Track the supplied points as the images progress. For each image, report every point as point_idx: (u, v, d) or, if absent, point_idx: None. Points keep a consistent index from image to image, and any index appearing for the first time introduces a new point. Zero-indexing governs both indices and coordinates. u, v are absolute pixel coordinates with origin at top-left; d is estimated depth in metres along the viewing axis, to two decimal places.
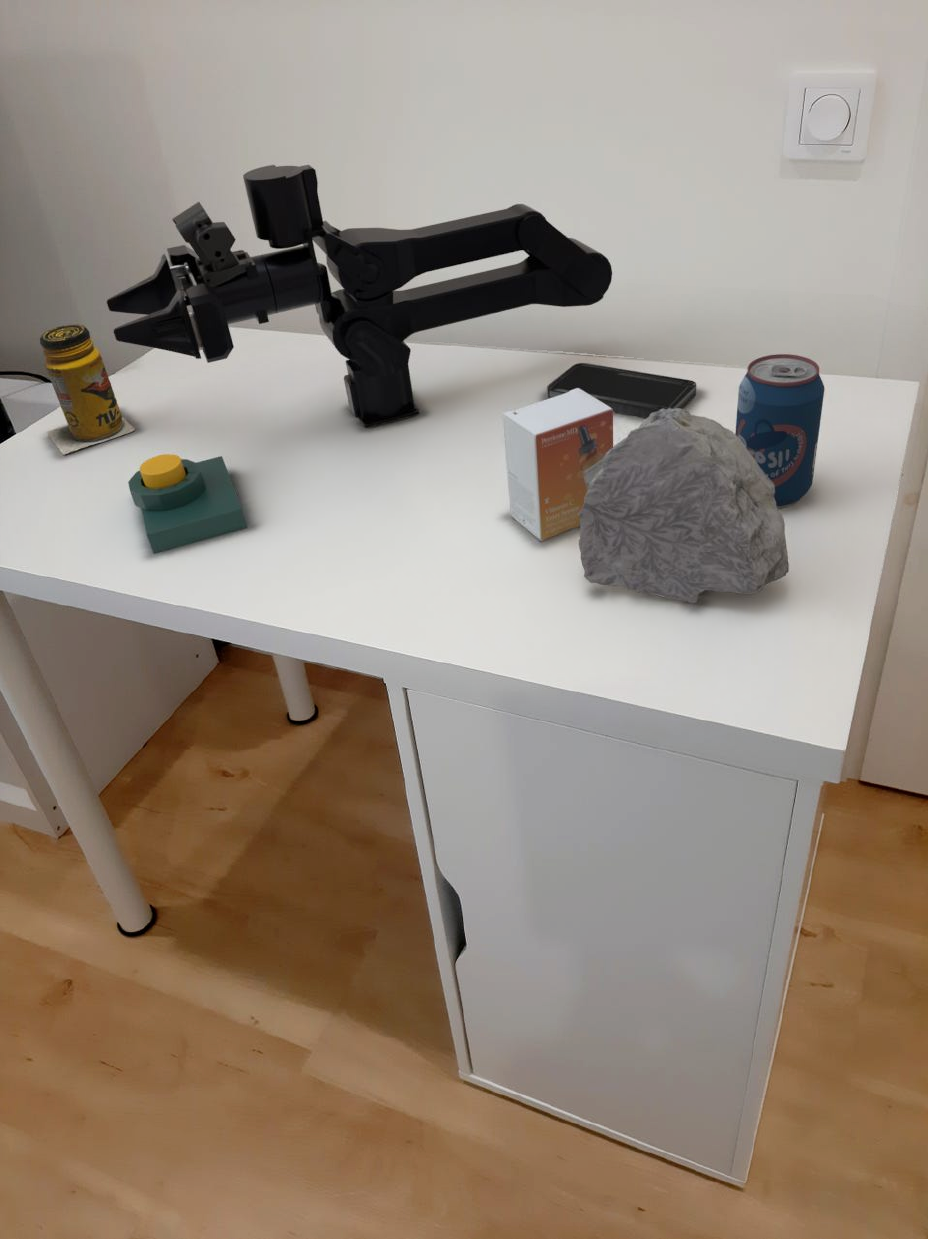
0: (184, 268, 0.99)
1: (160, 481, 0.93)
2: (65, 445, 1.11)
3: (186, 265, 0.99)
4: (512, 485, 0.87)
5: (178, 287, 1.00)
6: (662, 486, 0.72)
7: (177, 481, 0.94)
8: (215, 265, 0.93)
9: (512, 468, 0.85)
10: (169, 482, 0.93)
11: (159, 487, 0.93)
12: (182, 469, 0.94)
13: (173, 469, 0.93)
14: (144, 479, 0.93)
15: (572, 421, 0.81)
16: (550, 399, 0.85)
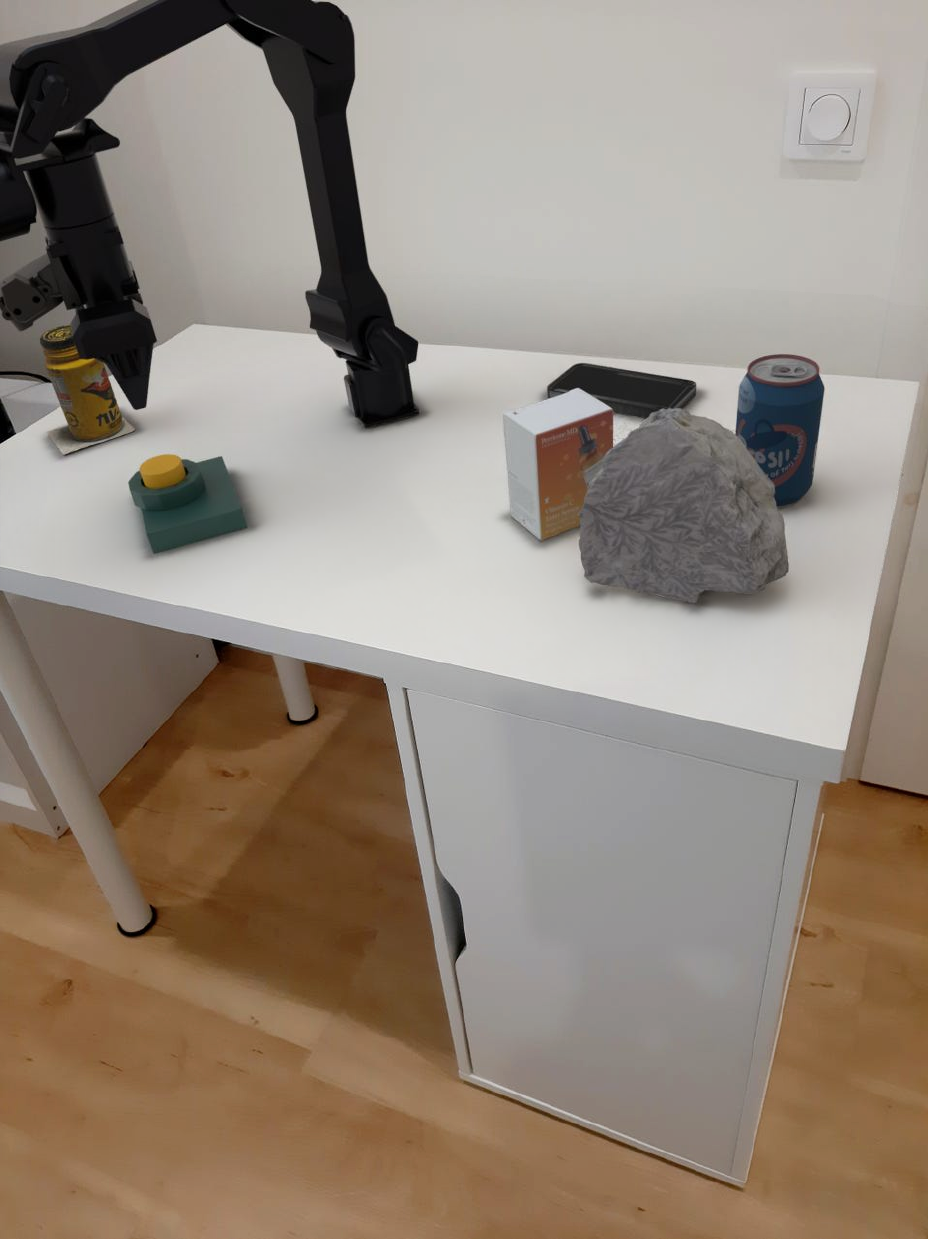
0: None
1: (160, 481, 0.93)
2: (65, 445, 1.11)
3: None
4: (512, 485, 0.87)
5: None
6: (662, 486, 0.72)
7: (177, 481, 0.94)
8: (54, 295, 0.80)
9: (512, 468, 0.85)
10: (169, 482, 0.93)
11: (159, 487, 0.93)
12: (182, 469, 0.94)
13: (173, 469, 0.93)
14: (144, 479, 0.93)
15: (572, 421, 0.81)
16: (550, 398, 0.85)
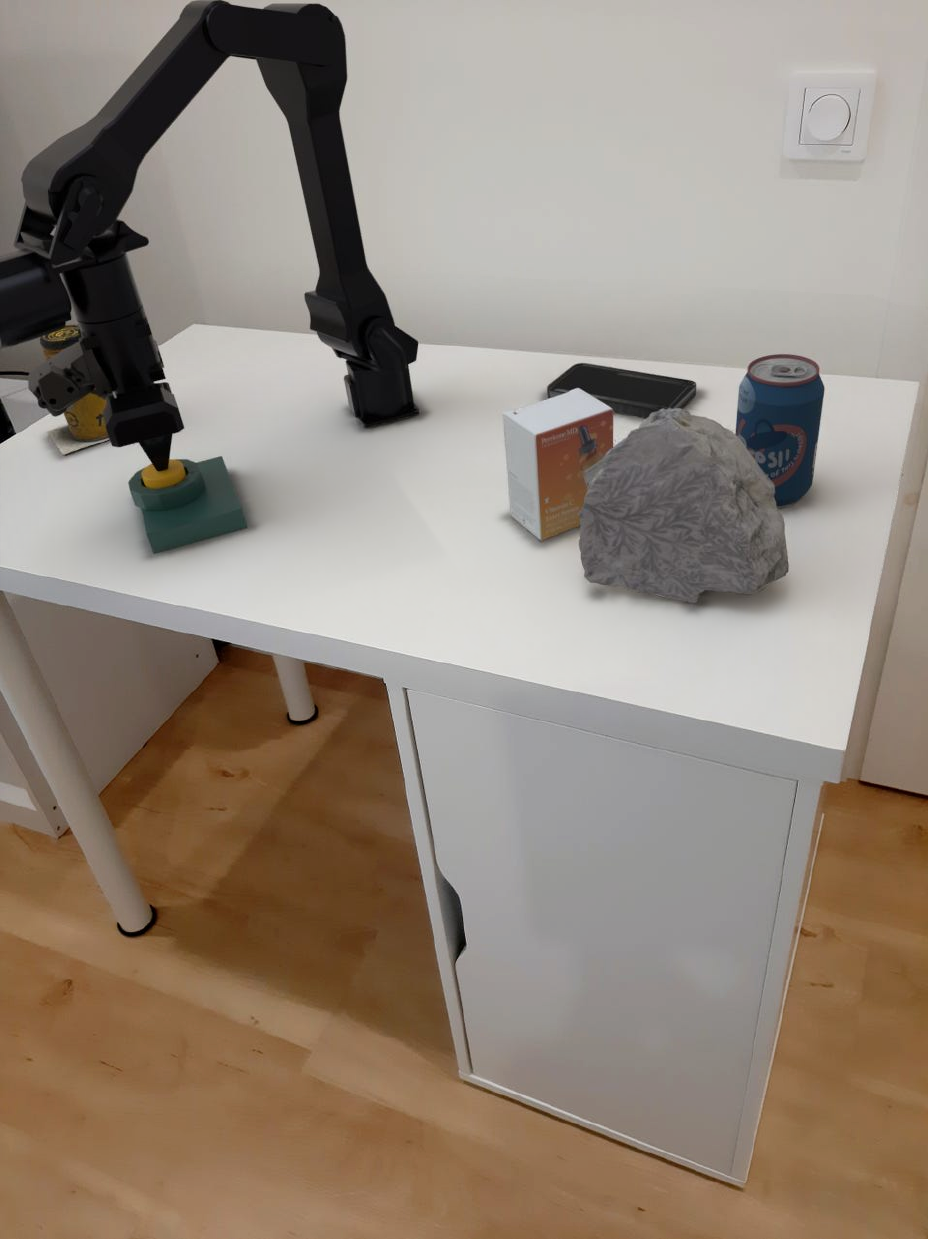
0: None
1: (162, 487, 0.93)
2: (65, 445, 1.11)
3: None
4: (512, 485, 0.87)
5: None
6: (662, 486, 0.72)
7: None
8: (87, 383, 0.85)
9: (512, 468, 0.85)
10: None
11: None
12: (184, 474, 0.94)
13: (175, 474, 0.93)
14: (146, 484, 0.94)
15: (572, 421, 0.81)
16: (550, 398, 0.85)
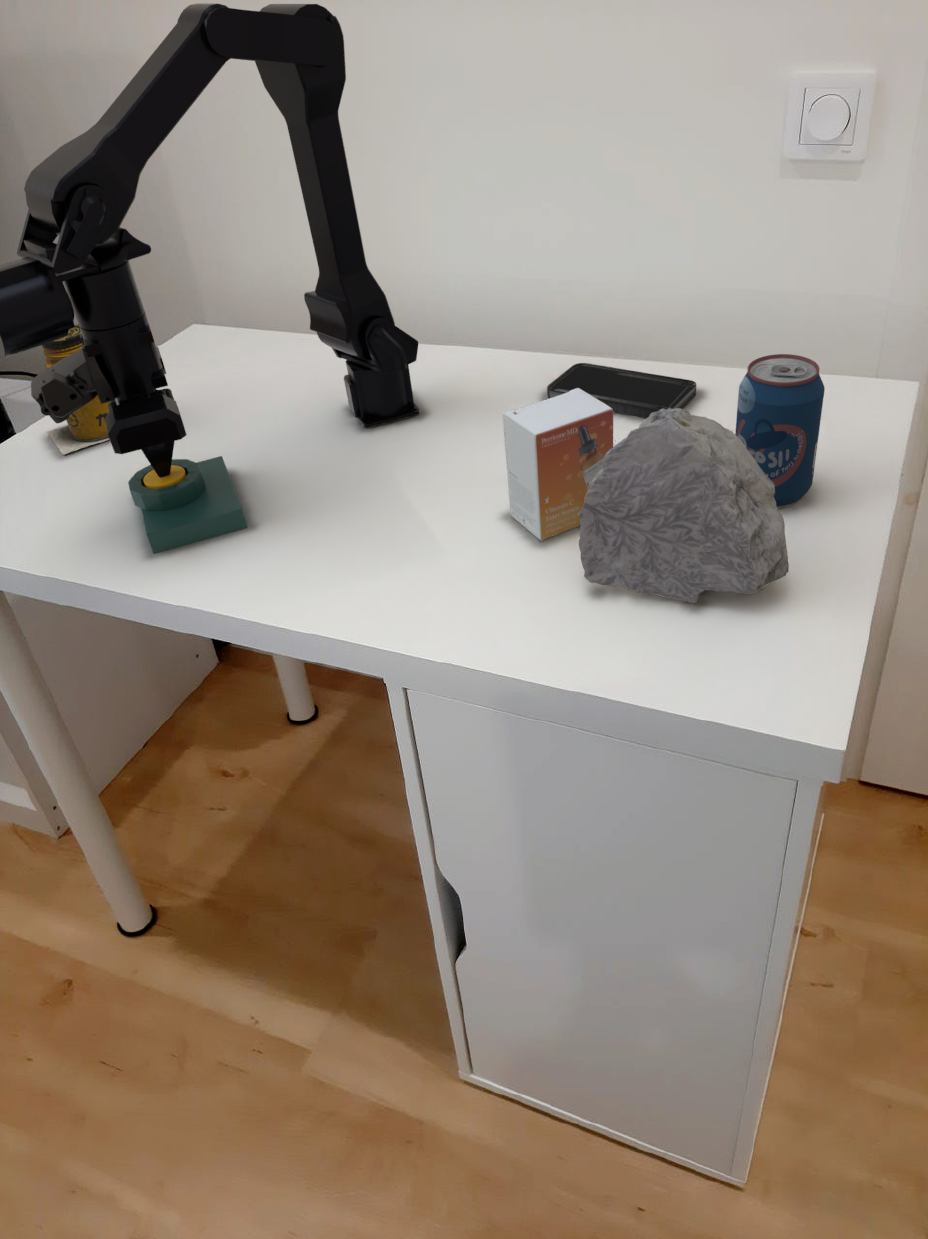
0: None
1: None
2: (65, 445, 1.11)
3: None
4: (512, 485, 0.87)
5: None
6: (662, 486, 0.72)
7: None
8: (89, 390, 0.85)
9: (512, 468, 0.85)
10: None
11: None
12: None
13: (177, 480, 0.94)
14: None
15: (572, 421, 0.81)
16: (550, 398, 0.85)
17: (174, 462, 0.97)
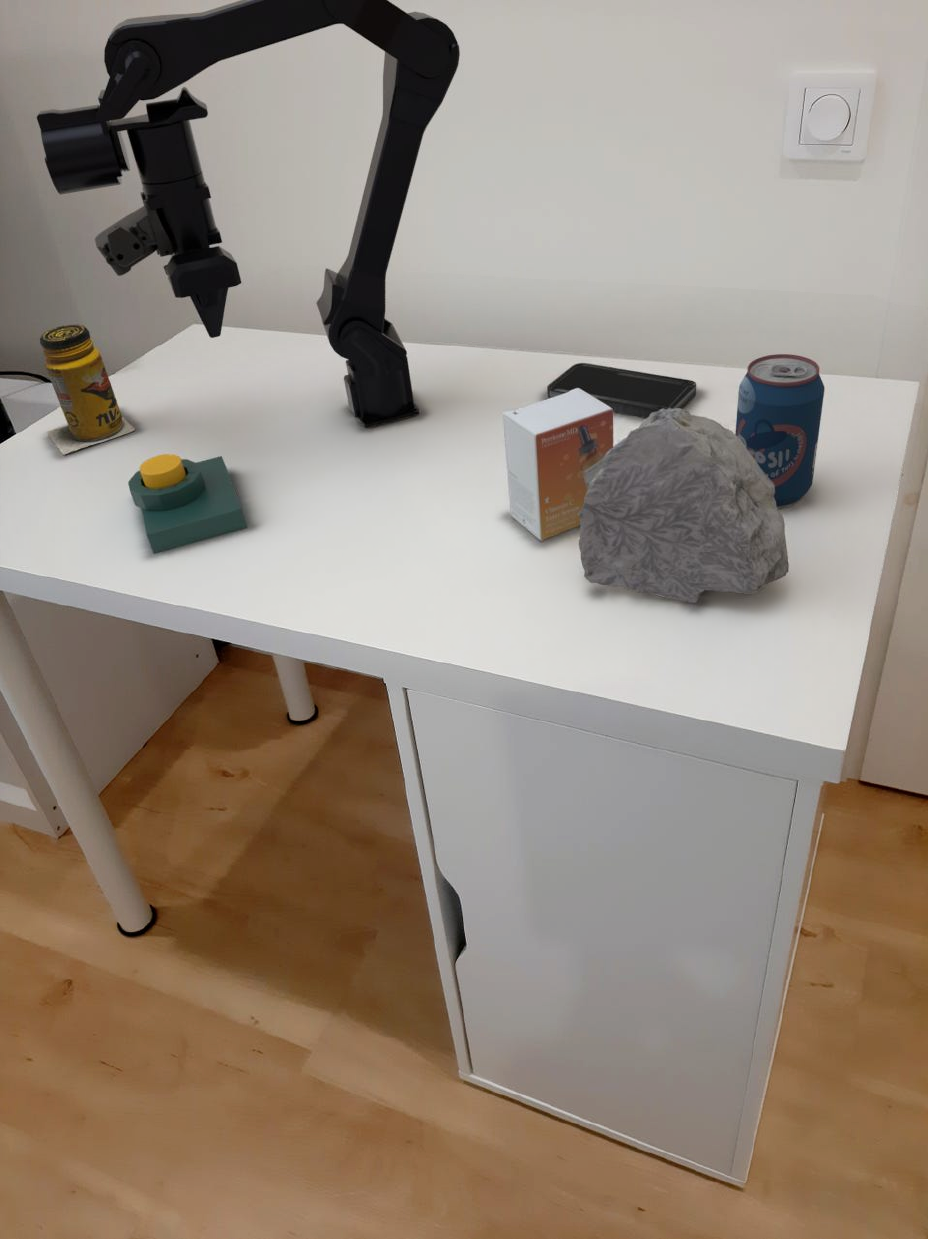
0: (174, 254, 0.96)
1: (160, 481, 0.93)
2: (65, 445, 1.11)
3: None
4: (512, 485, 0.87)
5: None
6: (662, 486, 0.72)
7: (177, 481, 0.94)
8: (150, 243, 0.91)
9: (512, 468, 0.85)
10: (169, 482, 0.93)
11: (159, 487, 0.93)
12: (182, 469, 0.94)
13: (173, 469, 0.93)
14: (144, 479, 0.93)
15: (572, 421, 0.81)
16: (550, 398, 0.85)
17: None
